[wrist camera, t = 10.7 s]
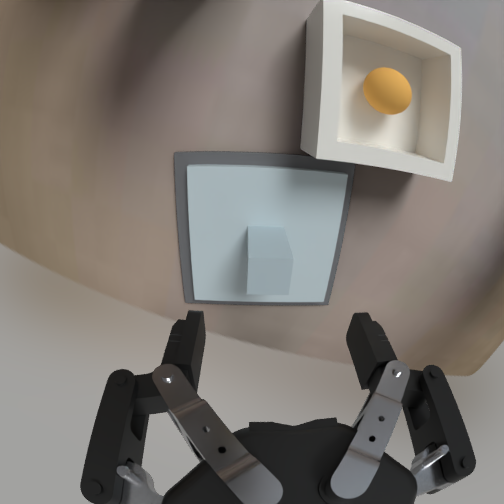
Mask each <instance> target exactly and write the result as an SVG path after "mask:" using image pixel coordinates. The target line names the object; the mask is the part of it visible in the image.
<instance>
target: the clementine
mask: <svg viewBox="0 0 504 504" xmlns="http://www.w3.org/2000/svg"><path fill="white" fill-rule="evenodd" d="M363 91H364V95H365V98H366V100H367V101H368V103H369V104H370V105H371V106H372V107H373V108H374V109H375V110H377V111H379V112H381V113H383V114H388V115H395V114H399V113H401V112H403V111H404V110H406V109H407V107H408V106H409V104H410V102H411V99H412V90H411V87H410V84H409V82H408V81H407V79H406V78H405V77H404V76H403V75H402V74H401V73H400V72H398V71H396V70H394V69H392V68H386V67H381V68H377V69H374V70H372V71H371V72H370V73H369V74H368V75H367V76H366V78H365V80H364V83H363Z"/></svg>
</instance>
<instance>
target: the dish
mask: <svg viewBox="0 0 504 504" xmlns="http://www.w3.org/2000/svg"><path fill="white" fill-rule="evenodd" d="M381 67H386V68H392V69H394V70H396V71H398V72H400V73H401V74H402V75H403V76H404V77H405V78H406V79H407V81H408V82H409V84H410V87H411V90H412V99H411V102H410V104H409V106H408V107H407V109H406V110H404V111H403V112H401V113H399V114H395V115H388V114H383V113H381V112H379V111H377V110H375V109H374V108H373V107H372V106H371V105H370V104H369V103H368V101H367V100H366V98H365V95H364V91H363V83H364V80H365V78H366V76H367V75H368V74H369V73H370V72H371V71H372V70H374V69H377V68H381ZM461 102H462V60H461V48H460V47H458V46H457V45H455V44H453V43H451V42H450V41H448V40H446V39H444V38H442V37H440V36H438V35H436V34H434V33H432V32H430V31H428V30H426V29H424V28H422V27H420V26H417V25H415V24H413V23H410V22H408V21H406V20H403V19H401V18H398V17H396V16H393V15H390V14H387V13H385V12H382V11H379V10H376V9H373V8H370V7H366V6H363V5H360V4H356V3H352V2H349V1H345V0H320V1H319V2H318V4H317V5H316V7H315V8H314V9H313V11H312V12H311V14H310V15H309V17H308V18H307V27H306V61H305V83H304V101H303V117H302V132H301V145H300V149H302V150H303V151H305V152H306V153H308V154H310V155H311V156H313V157H314V158H316V159H324V160H333V161H342V162H349V163H357V164H364V165H370V166H376V167H383V168H388V169H394V170H399V171H405V172H410V173H415V174H419V175H424V176H429V177H433V178H437V179H442V180H446V181H450V182H452V178H453V172H454V167H455V161H456V154H457V147H458V139H459V130H460V119H461Z"/></svg>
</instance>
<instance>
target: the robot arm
mask: <svg viewBox="0 0 504 504" xmlns="http://www.w3.org/2000/svg"><path fill="white" fill-rule="evenodd" d="M205 336H206V334H205V323H204V314H203V311H191V310H189V311H188V314H187V318H186V320H178V321H177V322H176V323H175V324H174V325H173V326H172V330H171V333H170V336H169V340H168V343H167V346H166V349H165V353H164V357H163V360H162V363H161V365H160V366H159V367H157V368H156V369H155V370H154V371H153V372H152V373H149V374H143V375H135V376H134V374H133V373H132V372H131V371H129V370H125V369H120V370H116V371H114V372H113V373H112V374H111V375H110V376H109V378H108V380H107V384H106V387H105V390H104V393H103V396H102V400H101V403H100V406H99V409H98V413H97V416H96V420H95V423H94V427H93V431H92V435H91V439H90V443H89V447H88V451H87V456H86V460H85V464H84V469H83V474H82V479H81V485H80V488H81V492H82V494H83V496H84V497H85V498H86V499H87V500H88V501H90V502H91V503H94V504H414V501H415V498H416V496H419V495H422V494H425V493H427V494H434V493H436V492H438V491H440V490H442V489H444V488H446V487H448V486H450V485H452V484H454V483H456V482H457V481H459V480H461V479H463V478H465V477H466V476H468V475H470V474H471V473H472V472H473V470H474V468H475V465H476V459H475V455H474V452H473V449H472V446H471V442H470V439H469V436H468V433H467V430H466V428H465V425H464V422H463V419H462V416H461V414H460V411H459V409H458V406H457V403H456V401H455V399H454V396H453V394H452V391H451V389H450V387H449V384H448V382H447V380H446V378H445V375H444V373H443V371H442V370H441V369H440V368H439V367H437V366H435V365H428V366H426V367H425V368H424V370H423V371H417V370H410V369H409V368H408V366H407V365H406V364H405V363H403V362H402V361H398V360H397V357H396V355H395V353H394V351H393V349H392V347H391V345H390V342H389V341H388V338H387V336H386V335H385V332H384V330H383V328H382V327H381V326H380V325H379V324H378V323H377V322H376V321H372V319H371V317H370V315H369V313H367V312H365V313H354V314H353V317H352V320H351V323H350V326H349V328H348V331H347V335H346V341H347V345H348V348H349V351H350V354H351V357H352V360H353V363H354V366H355V369H356V372H357V376H358V379H359V382H360V385H361V389H362V390H363V389H369V390H370V393H369V395H368V397H367V399H366V401H365V403H364V405H363V407H362V409H361V411H360V413H359V415H358V417H357V419H356V420H355V422H354V424H353V426H352V427H350V426H348V425H345V424H341V423H337V419H336V418H327V419H317V420H313V421H310V422H307V423H304V424H300V425H297V426H290V425H284V424H279V423H274V422H249V427H248V428H244V429H240V430H238V431H236V432H234V433H231V432H230V430H229V429H228V428H227V427H226V426H225V424H224V423H223V422H222V420H221V419H220V418H219V417H218V416H217V414H216V413H215V412H214V410H213V409H212V408H211V407H210V405H209V404H208V403H207V402H206V401H205V400H204V399H203V400H202V399H201V398H200V397H199V396H198V394H197V389H198V383H199V377H200V370H201V364H202V357H203V352H204V346H205ZM427 404H428V405H427ZM402 407H403V411H404V414H405V417H406V421H407V425H408V428H409V432H410V436H411V440H412V444H413V448H414V452H415V458H414V459H413V461H412V467H411V470H410V471H409V470H408V469H407V468H405V467H404V466H403V465H401V464H400V463H399V462H397V461H396V460H394V459H393V458H392V457H390V456H389V455H388V454H387V453H385V452H384V451H385V448H386V446H387V444H388V442H389V439H390V437H391V435H392V432H393V429H394V427H395V424H396V422H397V420H398V416H399V414H400V411H401V409H402ZM163 412H167V413H168V414H169V416H170V417H171V419H172V421H173V422H174V424H175V425H176V427H177V428H178V430H179V432H180V433H181V435H182V436H183V438H184V439H185V441H186V442H187V444H188V446H189V447H190V449H191V450H192V452H193V453H194V454H195V456H196V457H197V459H198V460H199V461H200V463H199V464H198V465H197V466H196V467H195V468H194V469H192V470H191V471H190V472H189V473H188V474H187V475H186V476H185V477H183V478H182V479H181V480H180V481H179V482H178V483H176V484H175V485H174V486H173V487H172V488H170V489H169V490H168V491H167V492H166V494H165V495H164V496H161V495H159V494H158V493H157V492H156V491H155V488H154V482H153V479H152V477H151V475H150V474H149V473H148V472H146V471H145V470H144V469H143V468H142V467H141V466H142V458H143V452H144V445H145V438H146V432H147V426H148V420H149V414H156V413H163Z"/></svg>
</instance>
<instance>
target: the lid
mask: <svg viewBox="0 0 504 504" xmlns="http://www.w3.org/2000/svg"><path fill="white" fill-rule="evenodd" d="M347 178H348V175H347V174H346V173H344V172H335V171H326V170H315V169H304V168H291V167H276V166H256V165H217V164H196V165H188V166H187V186H188V213H189V232H190V248H191V262H192V275H193V286H194V297H195V300H212V301H242V302H324V298H325V294H326V290H327V286H328V281H329V277H330V272H331V268H332V263H333V258H334V254H335V249H336V243H337V238H338V233H339V228H340V222H341V216H342V210H343V204H344V198H345V191H346V185H347Z"/></svg>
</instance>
